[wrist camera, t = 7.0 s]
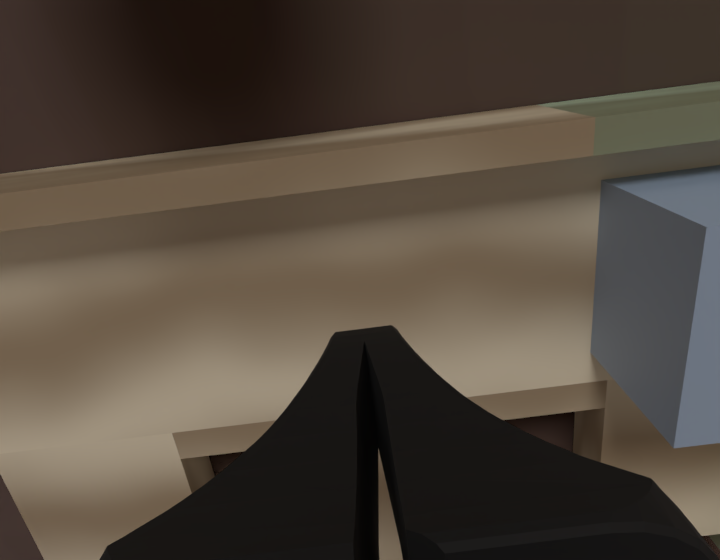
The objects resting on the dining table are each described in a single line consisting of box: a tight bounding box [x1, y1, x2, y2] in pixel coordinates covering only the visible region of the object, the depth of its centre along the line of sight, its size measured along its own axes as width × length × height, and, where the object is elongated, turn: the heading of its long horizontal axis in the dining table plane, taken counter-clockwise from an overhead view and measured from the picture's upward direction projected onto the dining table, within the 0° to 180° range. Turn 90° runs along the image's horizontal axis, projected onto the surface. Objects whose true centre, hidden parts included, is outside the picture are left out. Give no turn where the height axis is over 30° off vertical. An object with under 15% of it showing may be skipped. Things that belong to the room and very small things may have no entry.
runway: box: [0, 81, 720, 560], centre depth 15 cm, size 16×24×4 cm, turn 97°
